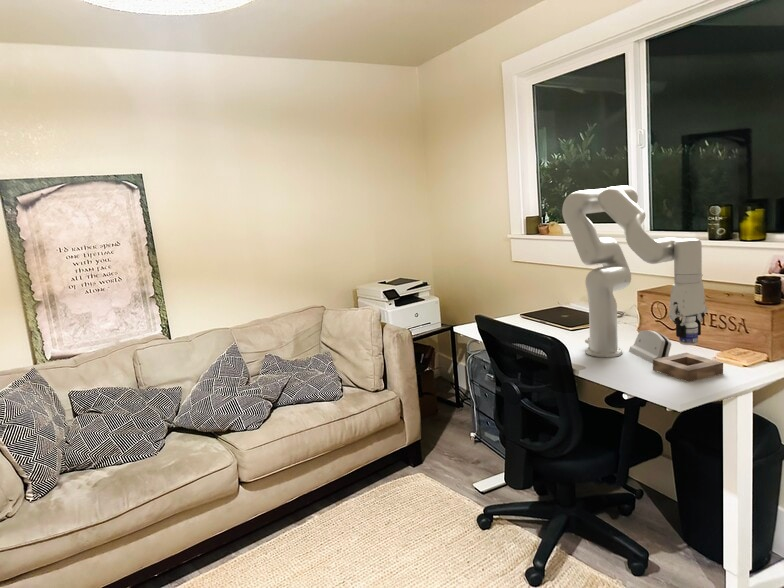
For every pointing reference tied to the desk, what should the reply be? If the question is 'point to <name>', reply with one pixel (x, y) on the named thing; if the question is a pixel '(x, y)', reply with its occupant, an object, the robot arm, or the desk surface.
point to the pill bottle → (690, 331)
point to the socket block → (688, 366)
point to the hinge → (651, 345)
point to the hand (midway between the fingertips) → (688, 335)
